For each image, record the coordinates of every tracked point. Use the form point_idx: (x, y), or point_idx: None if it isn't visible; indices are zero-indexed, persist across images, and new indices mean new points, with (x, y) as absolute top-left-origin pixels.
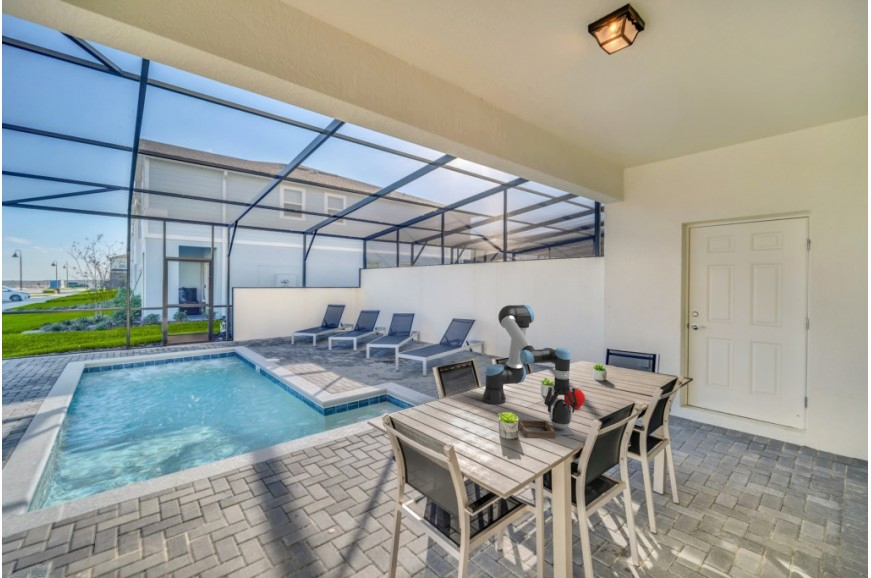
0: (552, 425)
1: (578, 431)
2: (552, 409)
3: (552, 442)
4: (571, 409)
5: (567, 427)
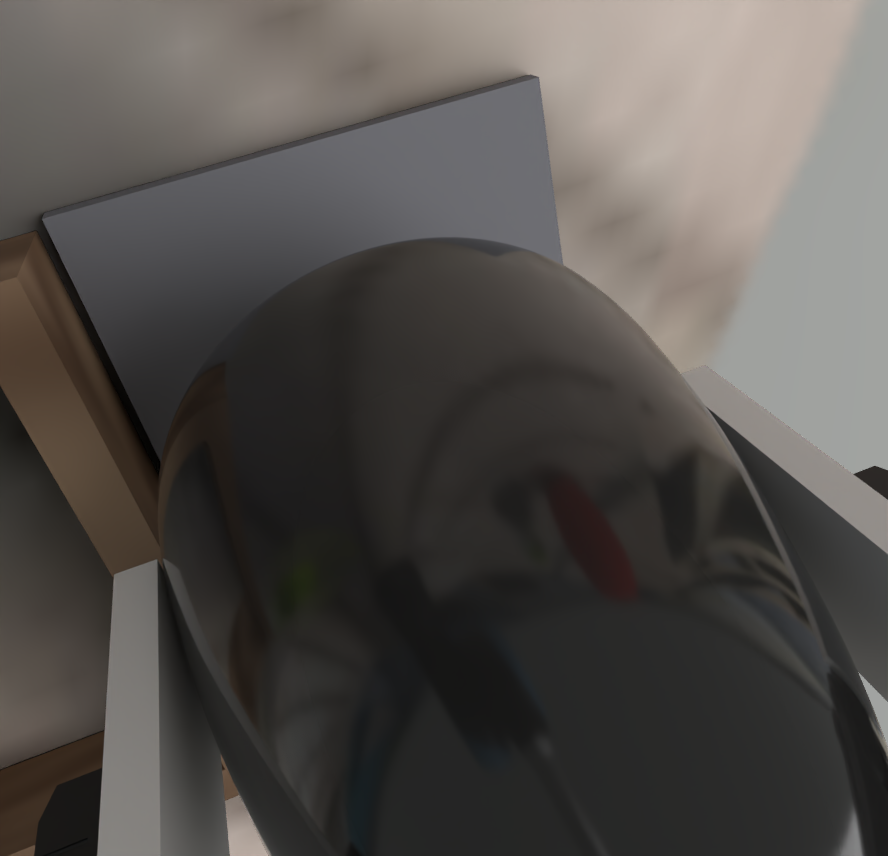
0: (197, 213)
1: (695, 294)
2: (227, 758)
3: (230, 819)
4: (882, 670)
5: (534, 221)
